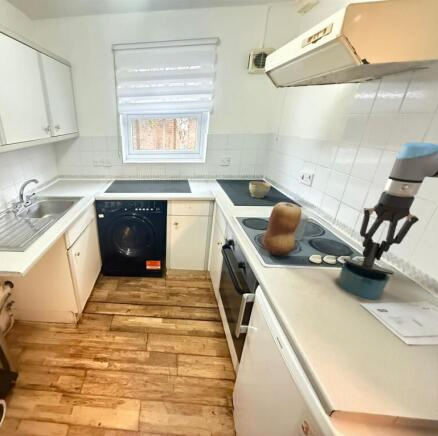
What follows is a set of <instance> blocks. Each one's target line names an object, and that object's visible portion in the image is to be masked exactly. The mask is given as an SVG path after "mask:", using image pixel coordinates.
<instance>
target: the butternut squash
mask: <svg viewBox="0 0 438 436" xmlns="http://www.w3.org/2000/svg"><path fill="white" fill-rule="evenodd" d="M301 213H302V214H303V211H302V208H301V207H300V206H299V205H298V204H294V203H291V202H286V201H285V202H284V201H281V202H277V204H275V205H273V208H272V209H271V213H270V215H269V217H268V218H269V219H268V226H267V228H266V231H265V232H264V234H263V236H262V243H263V246H264V248H265V250H267V252H268V253H269V254H270V255H272V256H285V255H288V254H290V253H291V252H292V251H294V249H295V246H296V240H295V236H294V232H295V230H296V228H297V226H298V224H299V222H300V219H301Z"/></svg>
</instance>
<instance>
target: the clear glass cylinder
mask: <svg viewBox="0 0 438 436" xmlns="http://www.w3.org/2000/svg"><path fill="white" fill-rule="evenodd" d="M309 218H310V217H309V215H307V214H306V213H303V212H302V213H301V219H300V222H299V224H298V226H297V228H296V230H295V232H294V236H295V241H300V240H303V237H304V234H305V230H306V227H307V223H308V221H309Z"/></svg>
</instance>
